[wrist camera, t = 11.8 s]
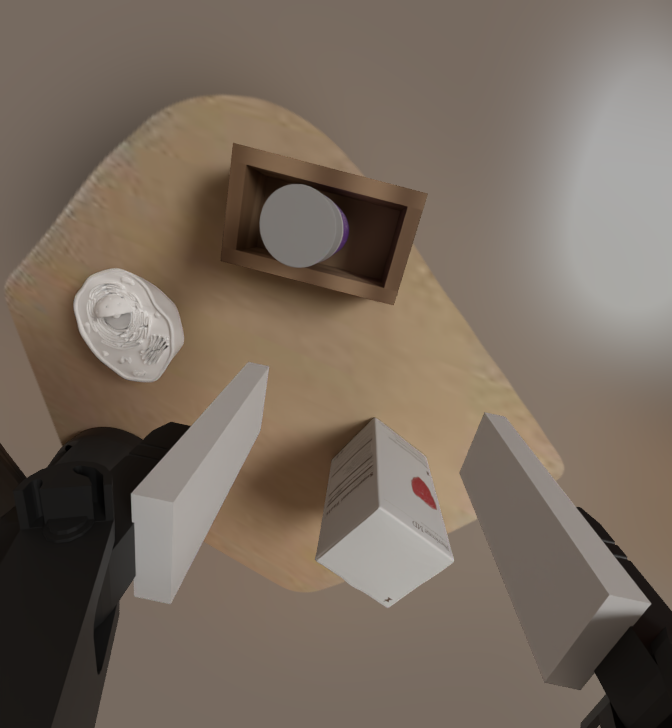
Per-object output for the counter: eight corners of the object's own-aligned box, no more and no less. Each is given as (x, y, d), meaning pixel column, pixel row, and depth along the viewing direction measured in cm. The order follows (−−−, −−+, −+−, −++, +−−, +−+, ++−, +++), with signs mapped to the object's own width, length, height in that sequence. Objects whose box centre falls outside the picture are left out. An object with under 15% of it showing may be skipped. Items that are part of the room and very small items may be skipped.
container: (359, 224, 33) (355, 217, 19) (331, 264, 34) (308, 286, 20) (319, 192, 32) (285, 161, 18) (292, 235, 34) (242, 237, 20)
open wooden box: (241, 259, 36) (214, 265, 29) (255, 153, 32) (227, 132, 26) (391, 298, 36) (397, 312, 30) (422, 196, 32) (436, 187, 26)
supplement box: (429, 456, 43) (459, 564, 29) (381, 497, 46) (388, 612, 32) (375, 414, 41) (379, 506, 27) (329, 459, 44) (312, 563, 30)
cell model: (130, 370, 42) (89, 394, 36) (94, 270, 38) (40, 278, 31) (208, 362, 41) (179, 386, 34) (179, 259, 36) (140, 264, 30)
